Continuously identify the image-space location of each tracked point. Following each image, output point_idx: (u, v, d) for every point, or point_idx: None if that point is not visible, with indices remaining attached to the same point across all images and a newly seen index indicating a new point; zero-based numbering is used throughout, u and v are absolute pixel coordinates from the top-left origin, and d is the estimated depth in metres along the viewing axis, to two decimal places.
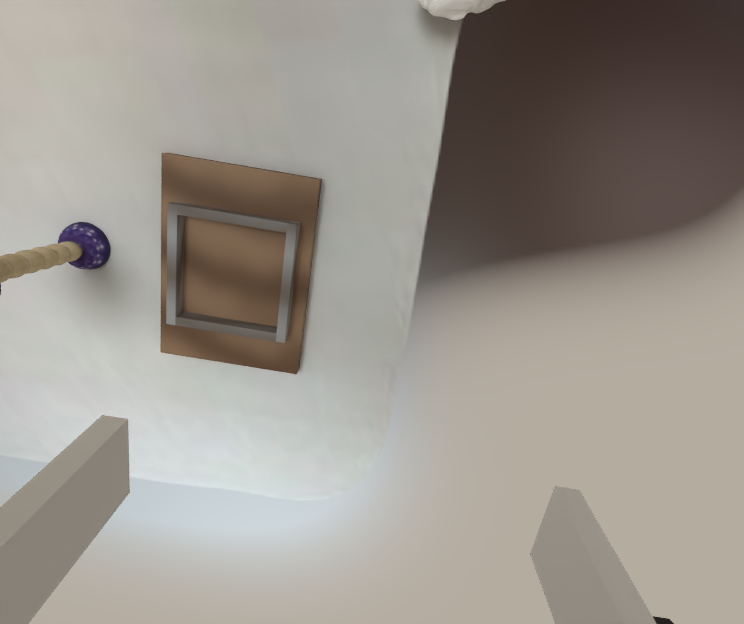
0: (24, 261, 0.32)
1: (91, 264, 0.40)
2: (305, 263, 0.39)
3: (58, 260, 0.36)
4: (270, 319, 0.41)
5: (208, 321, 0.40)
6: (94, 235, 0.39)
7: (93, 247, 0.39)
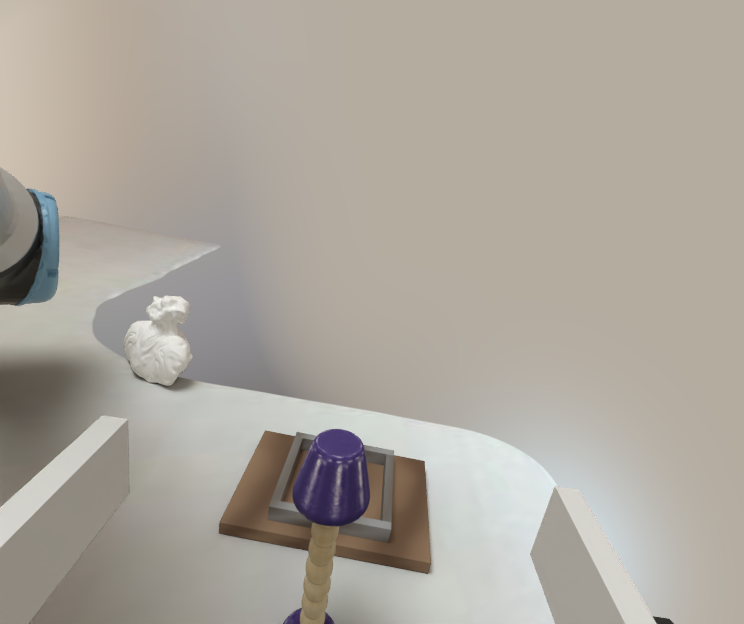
0: None
1: (330, 618, 0.32)
2: None
3: None
4: (377, 470, 0.47)
5: (383, 498, 0.41)
6: None
7: None
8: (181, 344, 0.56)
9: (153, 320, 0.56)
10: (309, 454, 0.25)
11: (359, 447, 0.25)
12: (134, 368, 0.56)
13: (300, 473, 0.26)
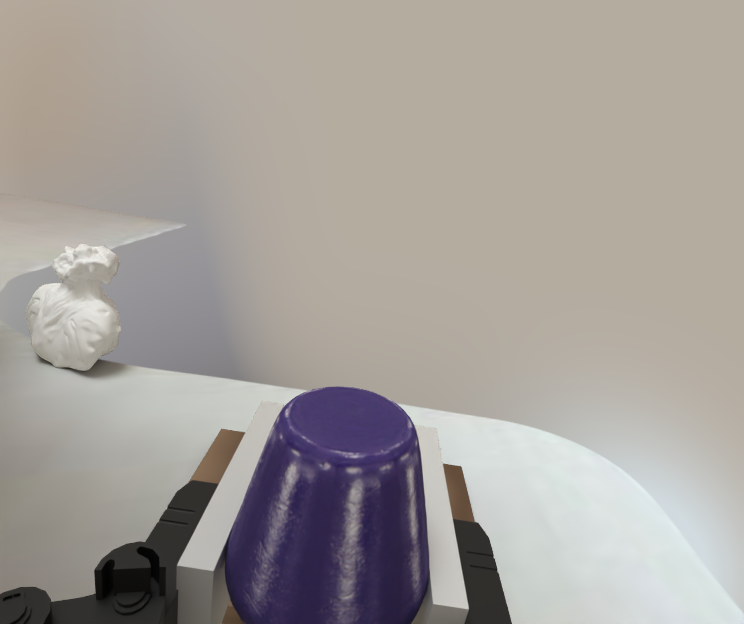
0: None
1: None
2: None
3: None
4: None
5: None
6: None
7: None
8: (103, 311, 0.39)
9: (62, 278, 0.39)
10: (266, 453, 0.09)
11: (406, 428, 0.09)
12: (34, 347, 0.39)
13: (244, 505, 0.09)
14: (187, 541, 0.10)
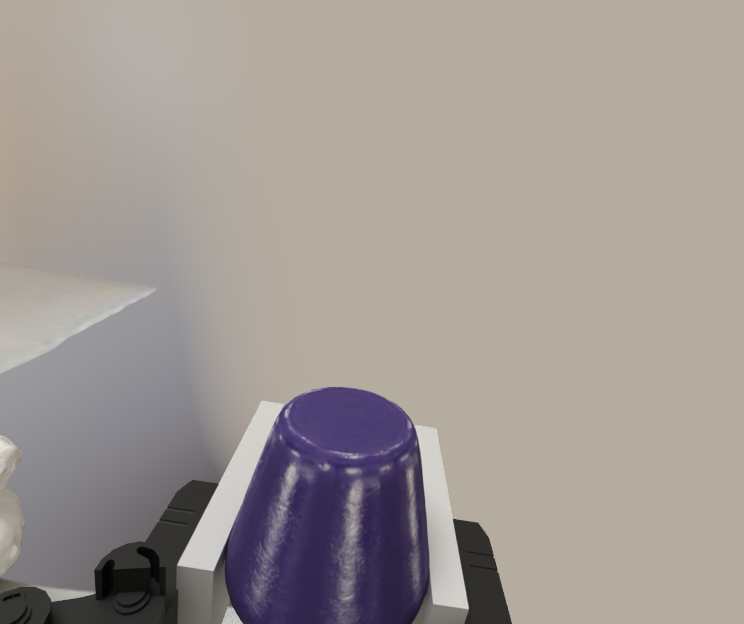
0: None
1: None
2: None
3: None
4: None
5: None
6: None
7: None
8: None
9: None
10: (266, 453, 0.09)
11: (406, 427, 0.09)
12: None
13: (243, 506, 0.09)
14: (187, 541, 0.10)
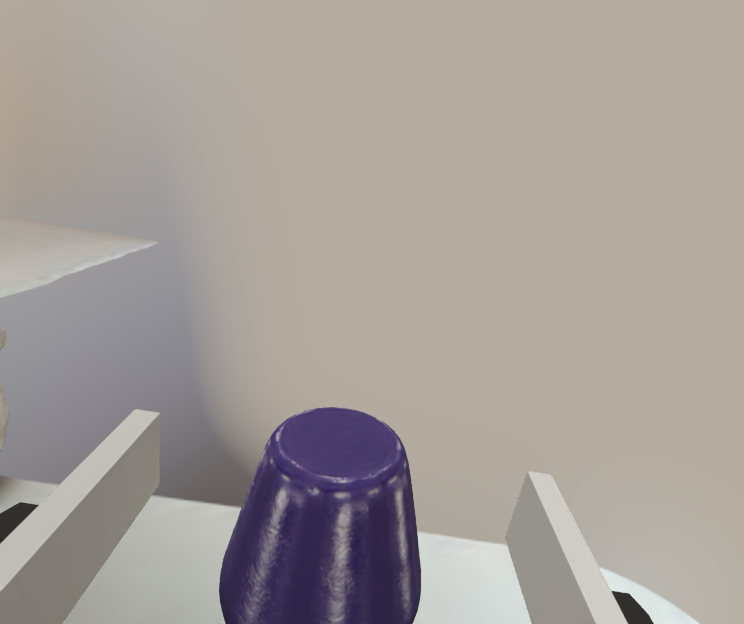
0: None
1: None
2: None
3: None
4: None
5: None
6: None
7: None
8: None
9: None
10: (257, 476, 0.09)
11: (395, 450, 0.09)
12: None
13: (237, 527, 0.10)
14: None
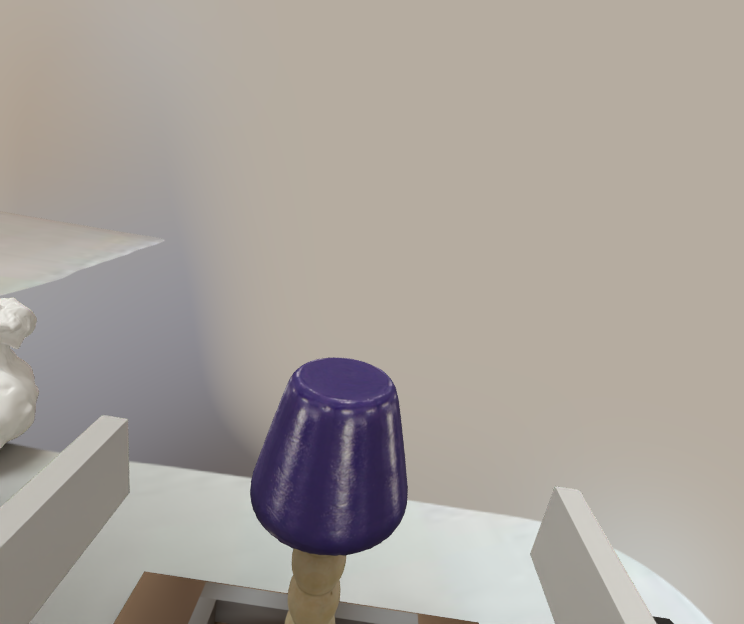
0: None
1: None
2: None
3: None
4: None
5: None
6: None
7: None
8: (5, 388, 0.30)
9: None
10: (282, 404, 0.12)
11: (387, 385, 0.12)
12: None
13: (265, 445, 0.12)
14: None
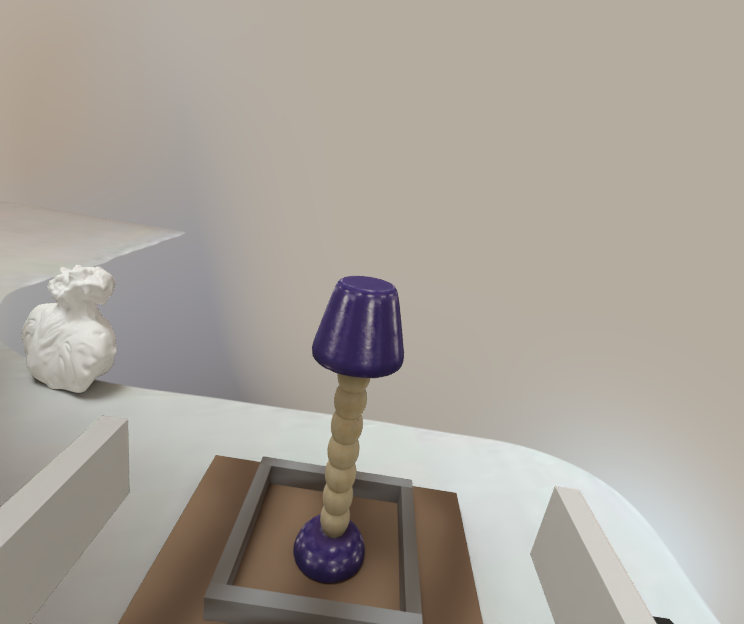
0: None
1: (354, 524, 0.27)
2: None
3: None
4: (388, 512, 0.30)
5: (403, 565, 0.25)
6: None
7: None
8: (98, 333, 0.39)
9: (58, 300, 0.39)
10: (333, 296, 0.21)
11: (392, 287, 0.21)
12: (29, 369, 0.39)
13: (322, 322, 0.22)
14: None
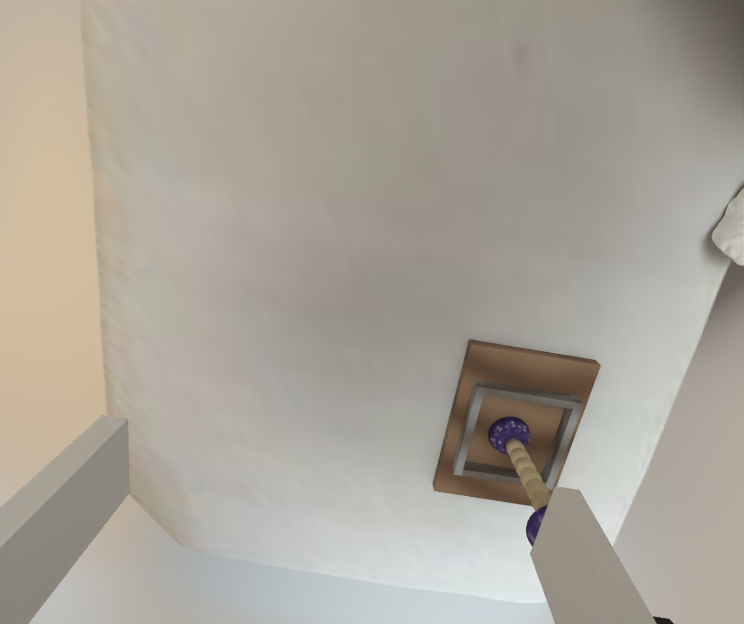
0: None
1: None
2: (574, 426, 0.46)
3: None
4: None
5: (489, 472, 0.47)
6: (527, 430, 0.46)
7: (527, 441, 0.46)
8: None
9: None
10: None
11: None
12: None
13: None
14: None
